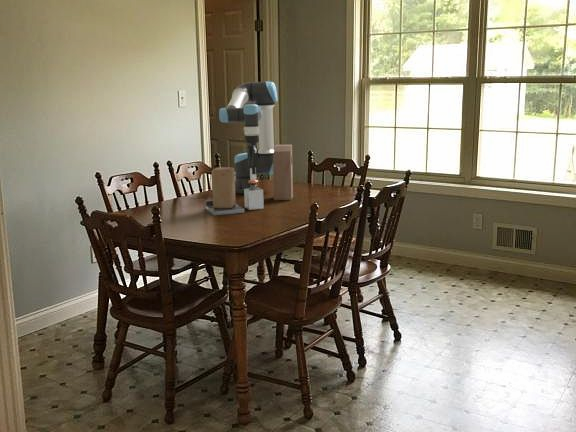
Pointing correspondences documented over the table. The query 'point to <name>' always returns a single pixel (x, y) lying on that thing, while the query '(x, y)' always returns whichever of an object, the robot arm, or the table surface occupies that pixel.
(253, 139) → the robot arm
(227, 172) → the wooden block
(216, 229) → the table surface
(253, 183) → the press pin
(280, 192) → the decorative block
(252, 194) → the pin housing
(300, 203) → the table surface
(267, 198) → the table surface
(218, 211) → the press bed
